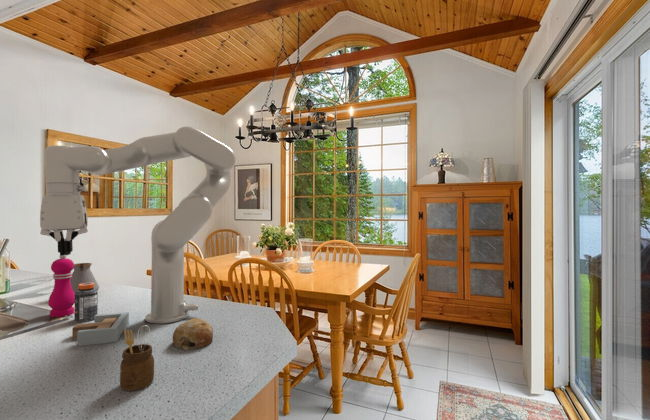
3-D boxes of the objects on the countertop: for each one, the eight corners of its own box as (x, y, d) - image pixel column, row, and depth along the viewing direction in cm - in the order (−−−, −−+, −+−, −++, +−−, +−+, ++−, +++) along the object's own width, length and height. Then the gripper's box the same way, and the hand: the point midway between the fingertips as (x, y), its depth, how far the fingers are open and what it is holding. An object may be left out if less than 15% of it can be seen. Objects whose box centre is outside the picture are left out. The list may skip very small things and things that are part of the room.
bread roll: (170, 363, 83) (168, 339, 80) (176, 332, 92) (175, 310, 89) (212, 359, 86) (211, 335, 82) (214, 329, 95) (213, 307, 91)
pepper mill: (60, 318, 105) (61, 255, 105) (41, 317, 106) (42, 254, 106) (81, 311, 112) (82, 252, 112) (63, 310, 113) (64, 252, 113)
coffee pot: (64, 295, 133) (64, 258, 133) (98, 291, 140) (99, 256, 140) (60, 308, 116) (60, 265, 116) (100, 303, 122) (100, 262, 122)
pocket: (128, 323, 101) (128, 312, 101) (115, 341, 87) (115, 328, 87) (95, 326, 98) (96, 314, 98) (77, 346, 84) (77, 332, 84)
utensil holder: (159, 376, 69) (160, 319, 69) (142, 393, 63) (142, 330, 63) (132, 376, 69) (132, 318, 69) (111, 392, 63) (112, 329, 63)
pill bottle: (76, 317, 106) (76, 282, 106) (98, 315, 108) (99, 280, 108) (72, 323, 100) (72, 286, 100) (96, 320, 103) (96, 284, 103)
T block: (80, 331, 94) (80, 320, 94) (116, 327, 97) (116, 317, 97) (68, 343, 86) (68, 331, 86) (108, 339, 89) (108, 327, 89)
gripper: (97, 190, 100) (100, 251, 100) (36, 191, 94) (38, 255, 95) (90, 189, 93) (92, 254, 93) (23, 189, 87) (26, 258, 88)
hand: (65, 254), depth 94 cm, fingers closed
